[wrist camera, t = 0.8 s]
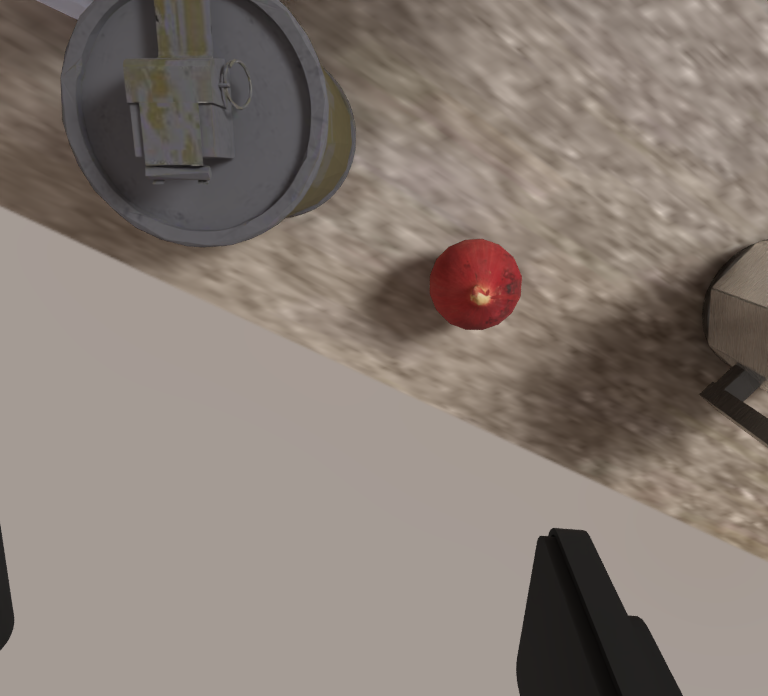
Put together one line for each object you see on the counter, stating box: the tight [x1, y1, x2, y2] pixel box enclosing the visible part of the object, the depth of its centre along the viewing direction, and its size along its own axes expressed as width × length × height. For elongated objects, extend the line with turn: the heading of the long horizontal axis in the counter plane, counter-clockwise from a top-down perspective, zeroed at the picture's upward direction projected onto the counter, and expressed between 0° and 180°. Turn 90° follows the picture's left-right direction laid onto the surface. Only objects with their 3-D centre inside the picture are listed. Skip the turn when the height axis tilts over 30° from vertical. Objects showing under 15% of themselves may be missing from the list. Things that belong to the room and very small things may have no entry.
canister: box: [61, 0, 356, 247], centre depth 30 cm, size 11×10×20 cm
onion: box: [430, 239, 522, 330], centre depth 38 cm, size 6×6×8 cm
